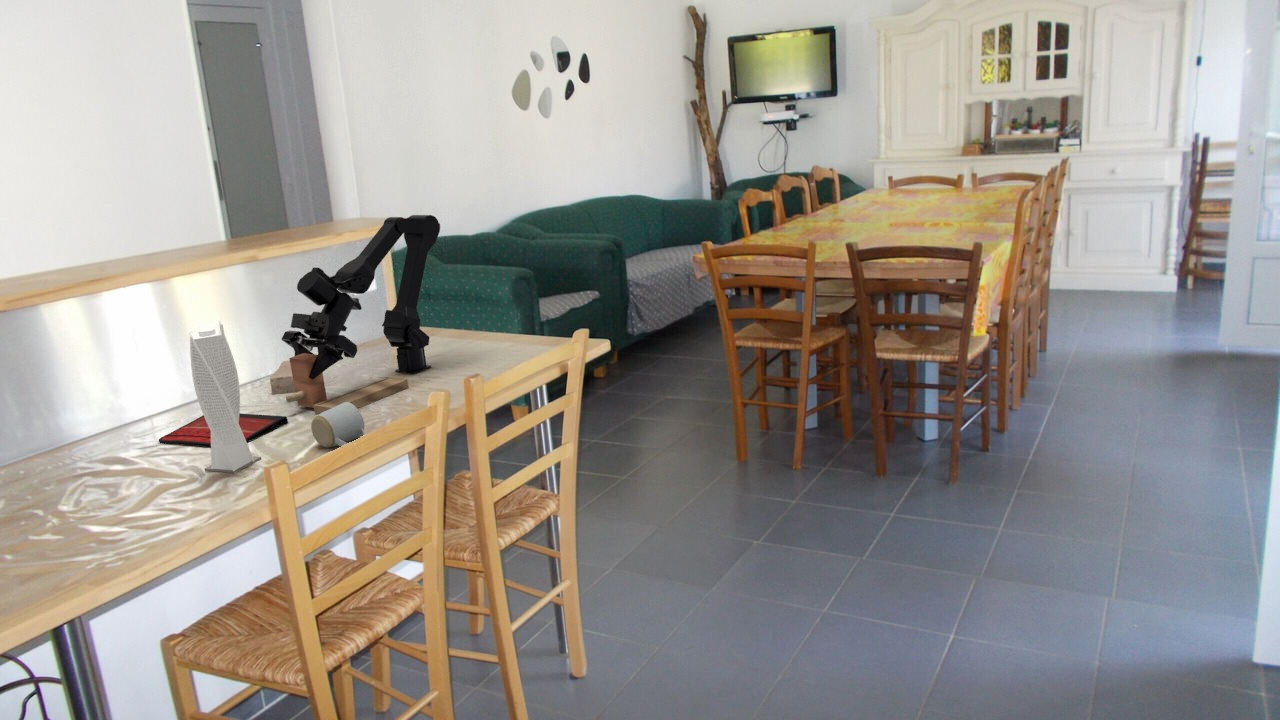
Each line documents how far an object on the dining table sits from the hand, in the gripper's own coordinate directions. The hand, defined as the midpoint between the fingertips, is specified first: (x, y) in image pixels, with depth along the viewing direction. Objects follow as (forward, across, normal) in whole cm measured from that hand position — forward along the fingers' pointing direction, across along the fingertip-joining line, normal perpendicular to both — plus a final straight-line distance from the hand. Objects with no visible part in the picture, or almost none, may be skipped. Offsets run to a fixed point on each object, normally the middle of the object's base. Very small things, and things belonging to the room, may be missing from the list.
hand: (302, 377), depth 206 cm
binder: (+18, -5, -7) cm, 20 cm away
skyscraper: (+26, +15, -16) cm, 34 cm away
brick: (-4, -20, +15) cm, 26 cm away
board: (-1, +8, +12) cm, 14 cm away
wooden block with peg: (+5, 0, +4) cm, 7 cm away
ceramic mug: (+15, +26, -4) cm, 30 cm away
